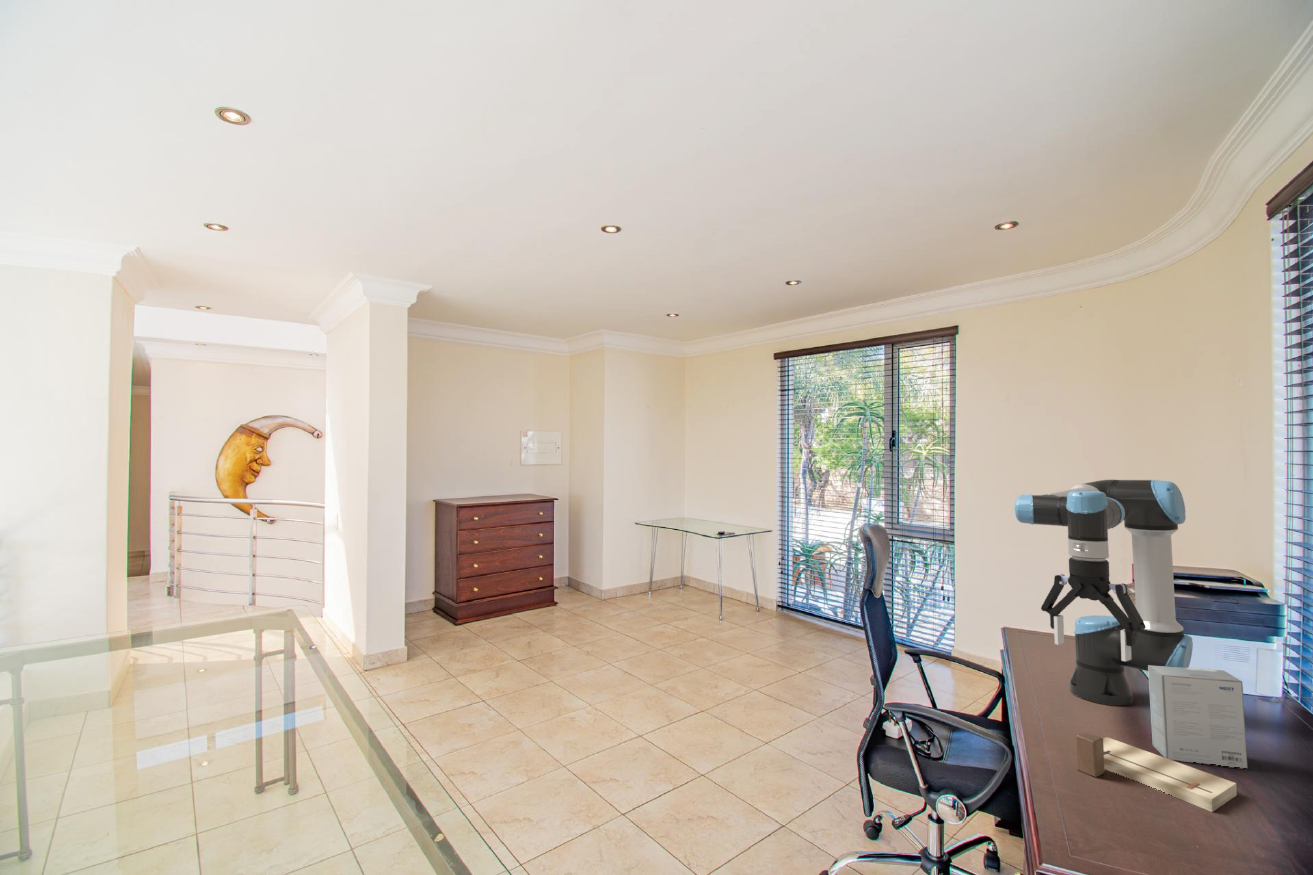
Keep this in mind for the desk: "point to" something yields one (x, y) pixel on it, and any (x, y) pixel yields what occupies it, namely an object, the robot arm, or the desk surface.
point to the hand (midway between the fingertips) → (1091, 651)
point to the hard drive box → (1198, 715)
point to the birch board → (1168, 775)
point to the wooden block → (1090, 754)
